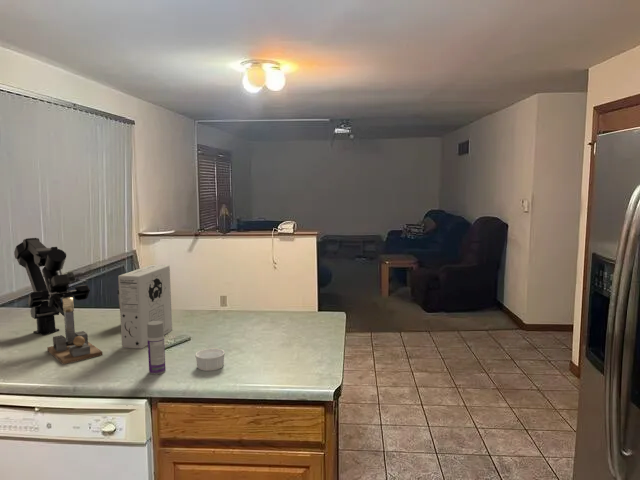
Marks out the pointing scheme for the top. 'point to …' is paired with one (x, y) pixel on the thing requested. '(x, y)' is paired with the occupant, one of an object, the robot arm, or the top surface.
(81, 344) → the tan base plate
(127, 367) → the top surface
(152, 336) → the container
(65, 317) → the lever
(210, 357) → the ramekin
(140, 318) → the cereal box
